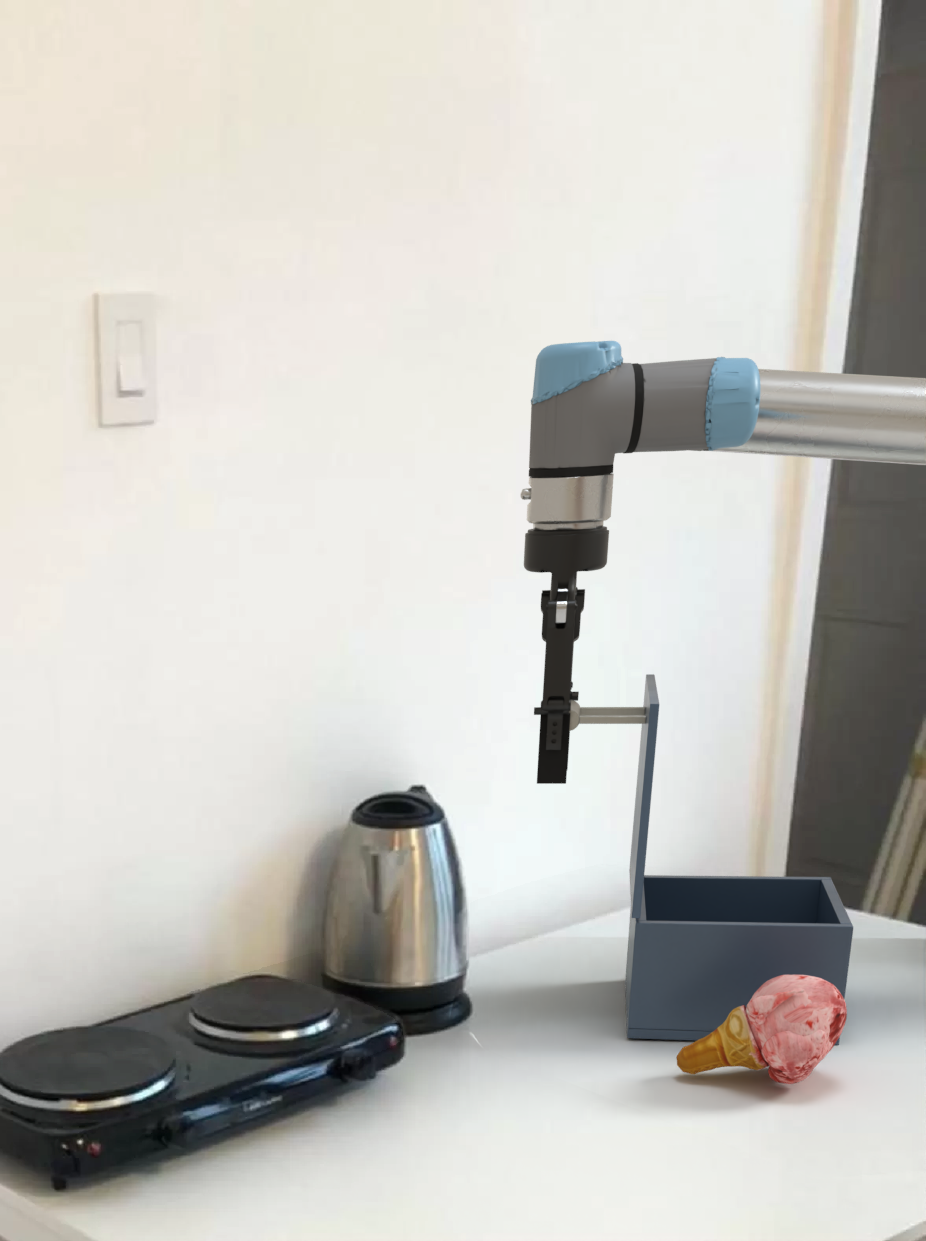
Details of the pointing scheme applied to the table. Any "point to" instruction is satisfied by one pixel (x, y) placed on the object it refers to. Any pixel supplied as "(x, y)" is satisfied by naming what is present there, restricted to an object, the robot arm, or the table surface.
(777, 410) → the robot arm
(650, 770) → the freezer lid
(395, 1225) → the table surface
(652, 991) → the box
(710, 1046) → the ice cream
